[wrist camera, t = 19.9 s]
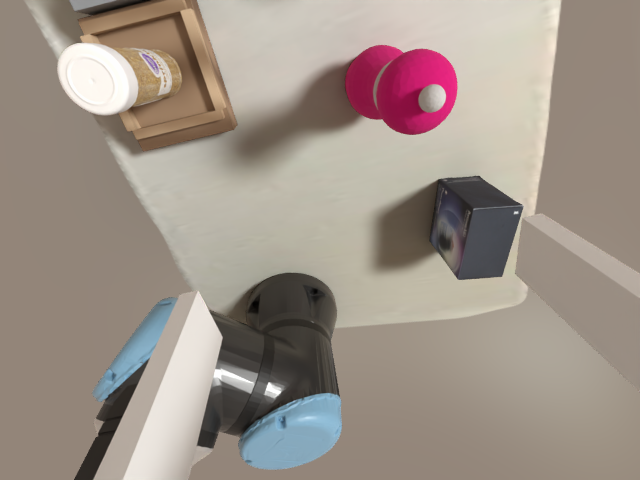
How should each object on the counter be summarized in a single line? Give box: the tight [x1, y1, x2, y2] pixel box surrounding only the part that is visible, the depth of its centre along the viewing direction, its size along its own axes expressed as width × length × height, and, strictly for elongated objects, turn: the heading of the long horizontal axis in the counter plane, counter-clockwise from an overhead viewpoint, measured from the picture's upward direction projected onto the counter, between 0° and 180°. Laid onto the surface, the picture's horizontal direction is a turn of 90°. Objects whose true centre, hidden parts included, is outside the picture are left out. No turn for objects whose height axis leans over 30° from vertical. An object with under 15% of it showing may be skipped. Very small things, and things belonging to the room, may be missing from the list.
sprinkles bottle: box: [57, 43, 182, 115], centre depth 28 cm, size 5×5×13 cm
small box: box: [429, 176, 524, 280], centre depth 43 cm, size 11×6×10 cm, turn 3°
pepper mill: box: [345, 45, 457, 135], centre depth 30 cm, size 7×7×20 cm
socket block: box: [78, 0, 237, 151], centre depth 34 cm, size 13×11×4 cm
